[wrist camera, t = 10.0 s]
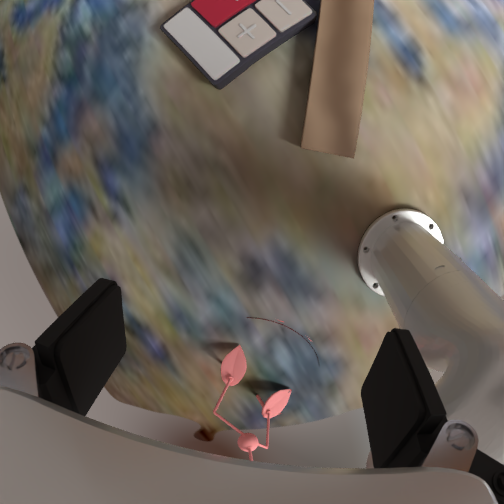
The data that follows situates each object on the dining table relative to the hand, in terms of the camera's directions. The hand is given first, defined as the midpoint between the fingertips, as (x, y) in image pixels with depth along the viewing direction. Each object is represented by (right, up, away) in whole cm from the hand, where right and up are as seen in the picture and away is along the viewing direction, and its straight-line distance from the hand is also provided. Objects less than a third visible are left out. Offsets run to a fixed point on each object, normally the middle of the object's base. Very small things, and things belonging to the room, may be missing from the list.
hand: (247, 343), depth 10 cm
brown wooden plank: (+11, +30, +20) cm, 37 cm away
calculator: (-1, +31, +21) cm, 37 cm away
